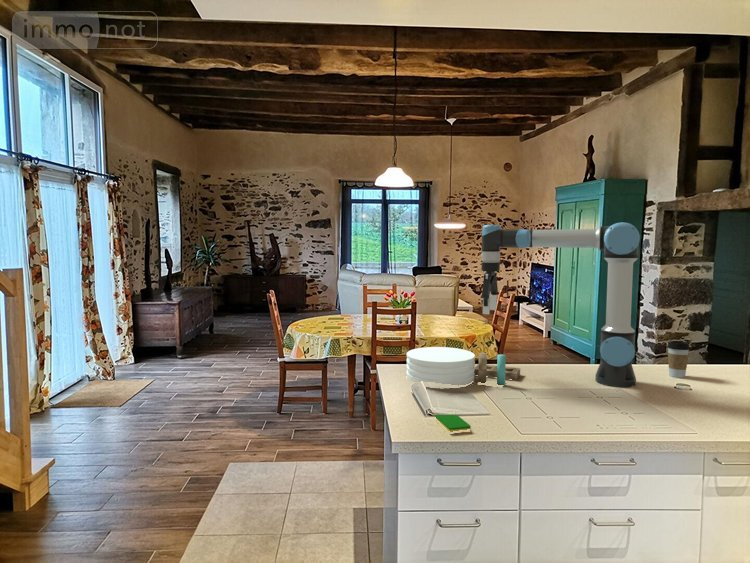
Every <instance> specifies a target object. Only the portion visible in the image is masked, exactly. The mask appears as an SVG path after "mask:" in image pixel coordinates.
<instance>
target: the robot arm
mask: <svg viewBox="0 0 750 563" xmlns="http://www.w3.org/2000/svg"><path fill="white" fill-rule="evenodd" d="M481 231H482V233H481V253H480V257H481V261H482V262H481V269H480V270H481V271H482V272H485V273H483V280H482V281H483V282H482V289H481V295H480V299H482V315H490V311H497V305H498V304H497V301H498V300H497V299H498V297H497V296H498V295H500V292H499V290H498V279H497V277H498V276H497V275H498V273H497V272H500V270H501V269H500V268H501V267H500V266H501V248H507V249H510V248H512V249H527V248H571V249H572V248H573V249H574V248H578V249H579V248H581V249H582V248H588V249H590V248H593V249H594V248H595V249H597V250H599V251H603V252H604V253H603V259H604V260H605V261H606V262H607V281H606V282H607V283H606V285H607V286H606V310H605V324H604V326H602V327H601V329H600V330H601V331H600V332H601V333H600V347H599V354H600V363H599V365H598V368H597V370H596V372H595V378H594V380H595V382H597V383H599V384H601V385H604V386H609V387H610V386H611V387H617V388H618V387H619V388H631V387H634V386H636V385H637V377H636V374H635V371H634V366H633V359H634V358H635V354H636V350H635V336H636V333H635V332H636V330H635V329H634V328H633V327H632V324H631V323H632V317H631V316H632V303H633V302H632V300H633V299H632V298H633V297H632V296H633V278H634V277H633V276H634V274H633V273H634V263H635V262H636V261H637V260H639V245H640V244H639V243H640V241H641V237H640V236H641V235H640V232H639V230H638V228H637V227H636V226H634V225H633V224H632V223H629V222H624V221H623V222H616V223H613V224H612V225H607V226H603V225H602V226H599V227H597V228H585V229H584V228H579V229H575V228H574V229H573V228H571V229H566V228H565V229H524V228H520V229H519V228H518V229H515V228H514V229H502V227H501V225H500V224H484V225H483V226H482V230H481Z"/></svg>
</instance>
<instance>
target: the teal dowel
mask: <svg viewBox="0 0 750 563" xmlns="http://www.w3.org/2000/svg"><path fill="white" fill-rule="evenodd" d="M496 356H497V359H496V361H497V362H496V366H497V379H496V381H497V384H498V385H505V382H506V380H505V367H507V365H506V364H507V363H506V361H507V358H506V357H507V356H506V354H501V353H500V354H497V355H496ZM505 386H506V385H505Z"/></svg>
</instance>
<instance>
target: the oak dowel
mask: <svg viewBox="0 0 750 563" xmlns="http://www.w3.org/2000/svg"><path fill="white" fill-rule="evenodd" d="M487 359H488V353H487V352H479V353H478V364H479V372H478V378H477V380H478V381H477V382H481V383H485V382H486V380H487V378H486V376H487V365H488V360H487Z"/></svg>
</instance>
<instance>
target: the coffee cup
mask: <svg viewBox="0 0 750 563" xmlns="http://www.w3.org/2000/svg"><path fill="white" fill-rule="evenodd" d="M690 350H691V347H690V344H689V342H686V341H679V340H670V341H668V344H667V360H668V361H667V362H668V375H669V377H671V378H675V379H685V378H686V373H687V368H688V362H689V351H690Z"/></svg>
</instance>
